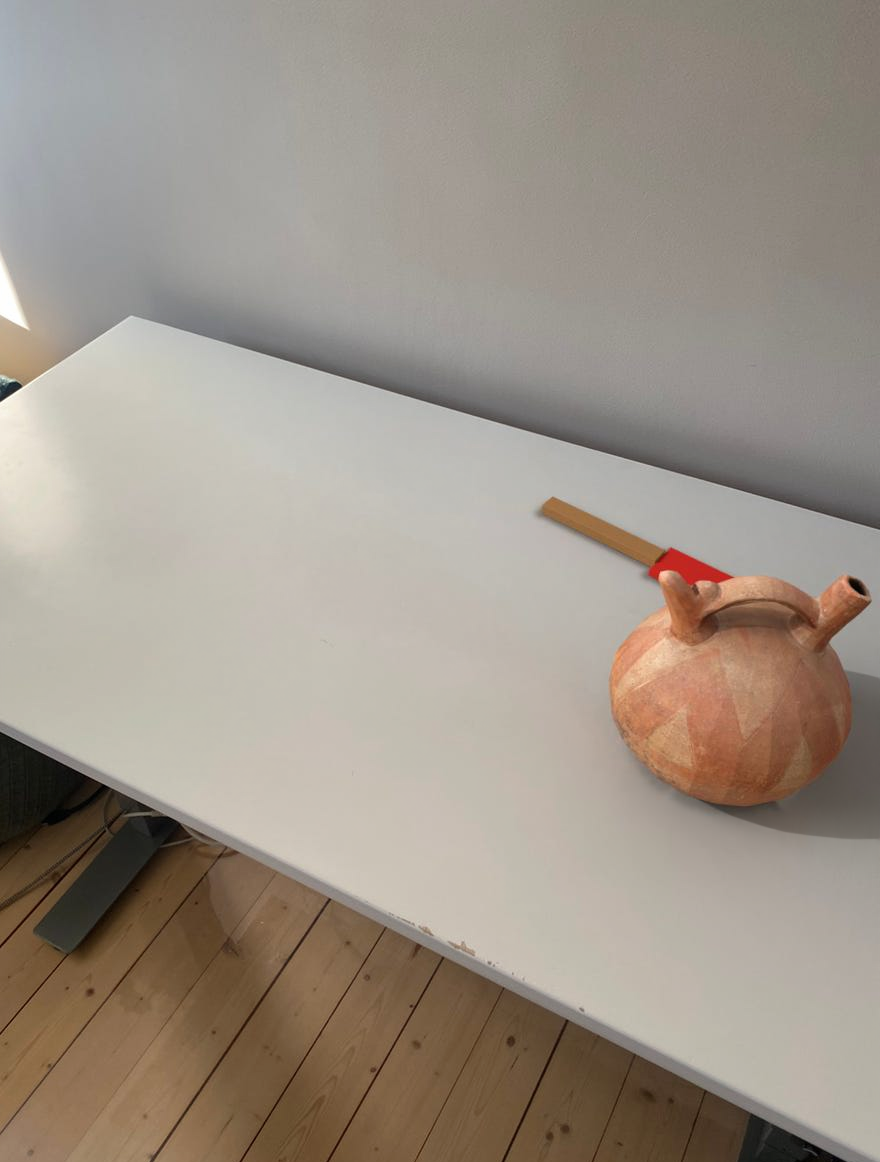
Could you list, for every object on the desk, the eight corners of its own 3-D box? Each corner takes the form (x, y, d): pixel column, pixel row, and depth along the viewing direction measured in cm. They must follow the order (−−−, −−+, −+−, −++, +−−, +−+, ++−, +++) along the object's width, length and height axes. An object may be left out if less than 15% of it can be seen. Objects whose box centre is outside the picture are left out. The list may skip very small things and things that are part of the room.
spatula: (557, 499, 103) (558, 490, 102) (740, 586, 93) (743, 577, 92) (534, 518, 101) (535, 510, 100) (719, 610, 91) (722, 602, 90)
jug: (599, 828, 75) (641, 665, 60) (596, 661, 87) (631, 491, 72) (836, 852, 73) (940, 690, 58) (800, 678, 85) (878, 507, 70)
